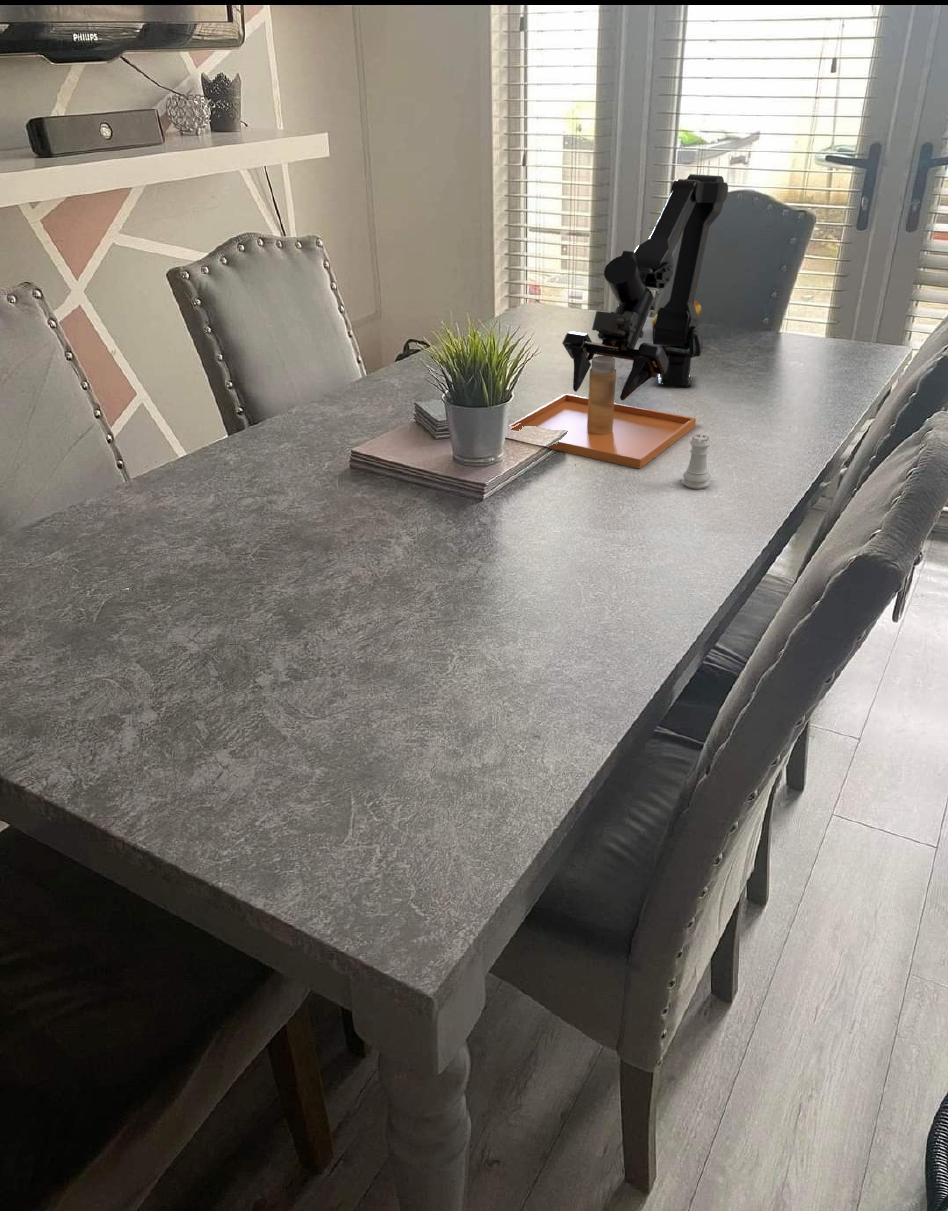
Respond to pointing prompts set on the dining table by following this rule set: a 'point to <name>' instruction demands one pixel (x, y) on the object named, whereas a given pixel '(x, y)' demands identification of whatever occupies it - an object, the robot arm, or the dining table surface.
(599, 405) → the disc
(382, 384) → the dining table surface
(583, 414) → the tray
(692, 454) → the rook chess piece
